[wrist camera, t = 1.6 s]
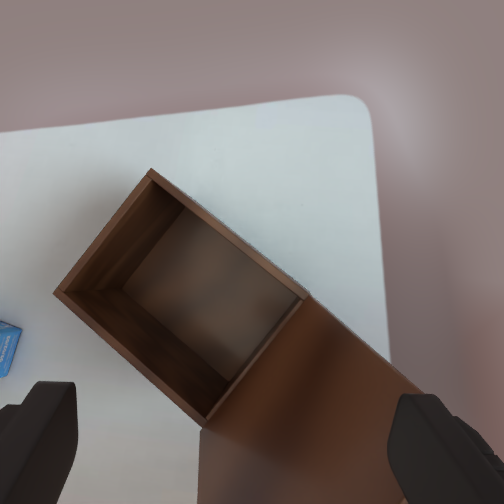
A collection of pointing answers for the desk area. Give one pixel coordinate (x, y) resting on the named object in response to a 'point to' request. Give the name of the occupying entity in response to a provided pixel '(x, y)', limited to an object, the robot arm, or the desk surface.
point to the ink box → (7, 346)
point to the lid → (306, 422)
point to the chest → (180, 296)
